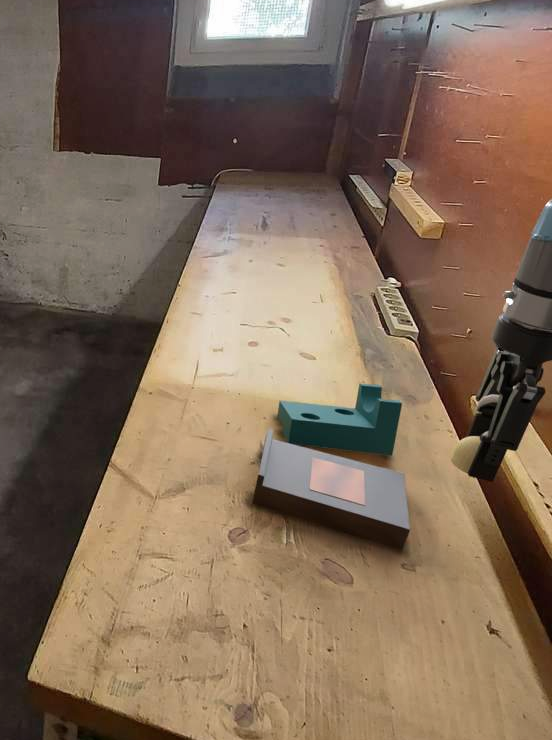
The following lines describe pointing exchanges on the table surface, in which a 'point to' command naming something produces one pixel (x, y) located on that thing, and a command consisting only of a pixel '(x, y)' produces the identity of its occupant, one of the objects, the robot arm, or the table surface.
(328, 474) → the shelf
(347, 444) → the teal l-shaped bracket
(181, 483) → the table surface
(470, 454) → the hook
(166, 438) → the table surface
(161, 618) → the table surface
